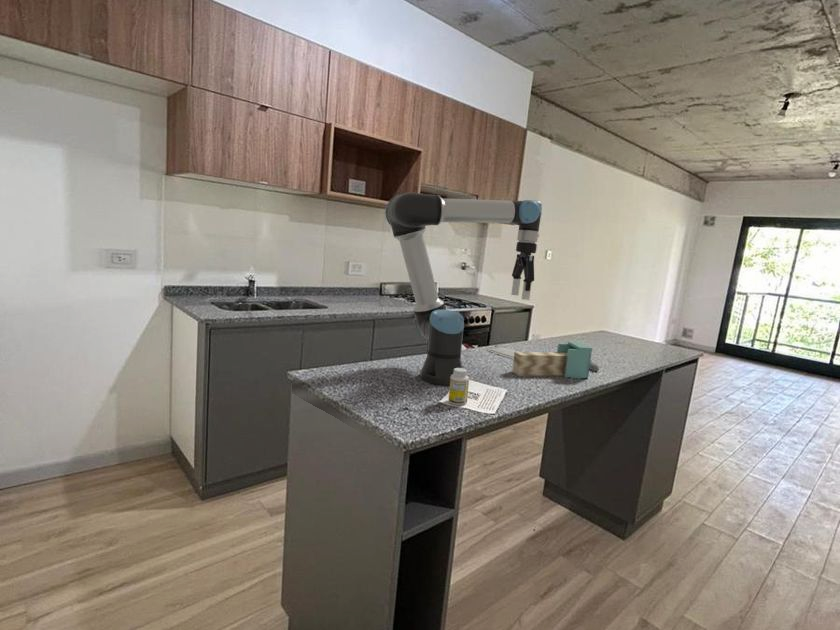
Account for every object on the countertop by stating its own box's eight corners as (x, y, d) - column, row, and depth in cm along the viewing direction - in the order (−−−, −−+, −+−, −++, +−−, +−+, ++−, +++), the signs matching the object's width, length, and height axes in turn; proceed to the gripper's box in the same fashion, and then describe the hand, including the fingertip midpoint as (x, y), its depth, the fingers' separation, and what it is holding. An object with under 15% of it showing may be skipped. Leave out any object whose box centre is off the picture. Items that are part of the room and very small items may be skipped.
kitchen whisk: (590, 373, 181) (593, 358, 180) (558, 352, 214) (560, 339, 213) (605, 374, 182) (607, 358, 181) (571, 353, 215) (572, 340, 214)
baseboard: (542, 371, 180) (560, 368, 187) (543, 364, 179) (561, 361, 187) (485, 353, 203) (503, 350, 211) (486, 346, 203) (504, 344, 210)
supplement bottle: (457, 398, 140) (460, 366, 138) (470, 403, 135) (473, 370, 134) (444, 401, 136) (447, 368, 134) (457, 407, 132) (460, 373, 130)
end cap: (565, 377, 171) (569, 346, 169) (554, 370, 181) (558, 340, 179) (587, 378, 172) (592, 348, 170) (576, 371, 182) (580, 342, 180)
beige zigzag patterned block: (518, 375, 170) (520, 355, 168) (512, 371, 174) (514, 351, 173) (574, 375, 176) (577, 355, 174) (567, 372, 180) (570, 352, 179)
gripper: (548, 243, 161) (540, 302, 164) (526, 242, 185) (519, 294, 189) (527, 241, 160) (520, 300, 163) (508, 241, 185) (502, 292, 188)
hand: (519, 297), depth 176 cm, fingers open, 13 cm apart
